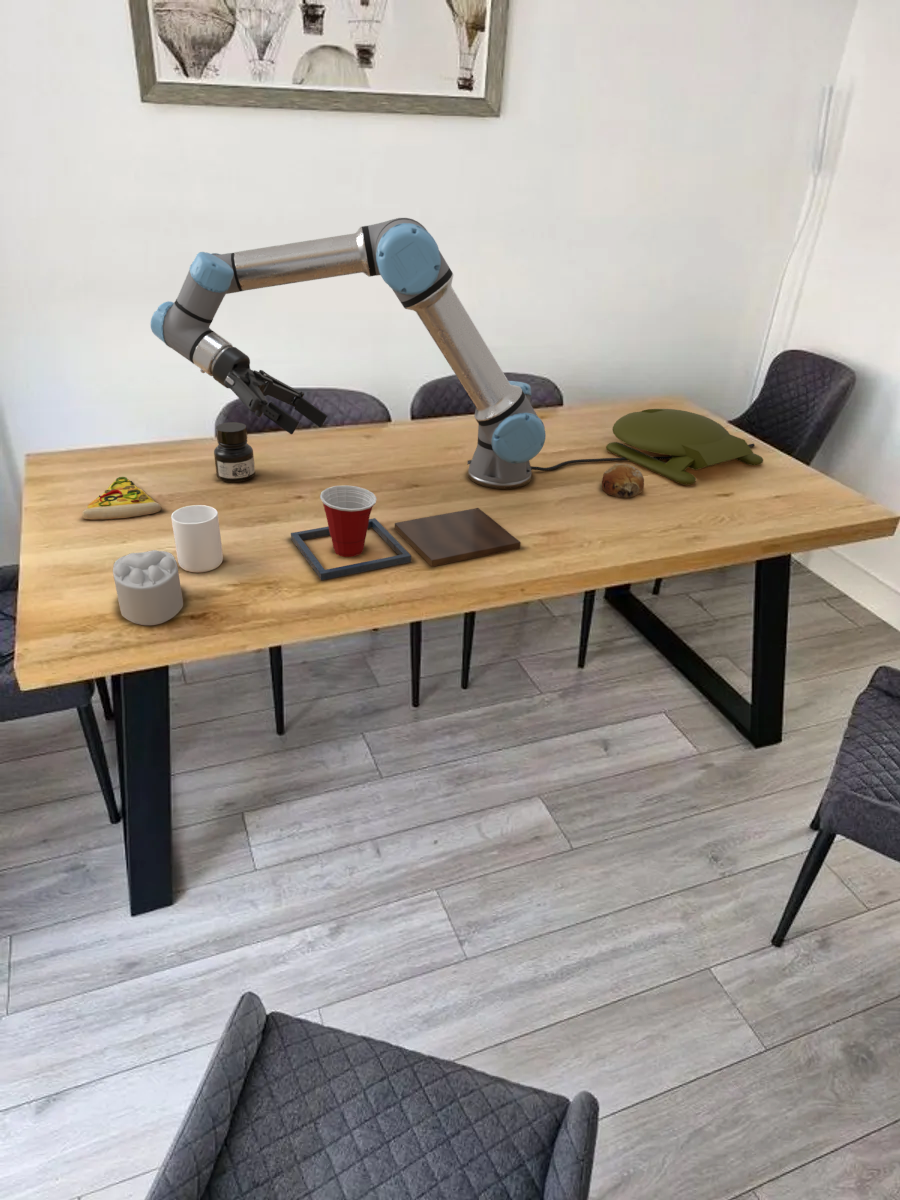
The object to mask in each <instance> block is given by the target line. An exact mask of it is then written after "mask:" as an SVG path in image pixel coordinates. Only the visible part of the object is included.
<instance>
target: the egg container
mask: <svg viewBox="0 0 900 1200" xmlns="http://www.w3.org/2000/svg"><path fill="white" fill-rule="evenodd" d="M178 566H179V565H178V561H177V560H176V557H175V556H174V555H173V554H172V553H171V552H169V551H165V550H158V549H153V550H148V551H143V552H131V553H128V554H125V555H123V556H121V557H119V558H117V559H116V560H115V562H114V563H113V568H112V575H113V580H114V581H113V582H114V585H115V591H116V595H117V600H118V605H119V610H120V615H121V616H122V617H123V618H124V619H126V620H127V621H129V622H130V623H133V624H136V625H142V626H157V625H160V624H163V623H166V622H168V621H169V620H171V619H173V618H174V617H175V616H177V614H179V612H180V611H181V610H182V609H183V607H184V599H183V591H182V587H181V580H180V579H181V578H180V573H179V567H178Z"/></svg>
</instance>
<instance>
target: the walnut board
mask: <svg viewBox="0 0 900 1200" xmlns="http://www.w3.org/2000/svg"><path fill="white" fill-rule="evenodd" d="M393 525H394V528H393V529H394V531H395V532H397V534H399V536H401V537H402V539H403V540H404V541H405V542H406V543H407V544H409V546H410V547H411V548H412V549H413V550H414V551H415V552H416V553H417V554H418V555H419V556H420V557H421V558H422V559H423V560H424V561H425V562H426V563H427V564H428V565H429V566H430V567H432V568H433V567H437V566H442V565H448V564H452V563H457V562H462V561H467V560H472V559H476V558H481V557H485V556H491V555H495V554H499V553H504V552H509V551H514V550H519V549H521V541H520V540H519V539H517V538H516V537H515V536H513V534H511V533H510V532H509V531H508V530H506V529H505V528H504V527H503V526H502V525H500V524H499V523H497V521H495V519H493V518H491V517H490V516H489V515H488V514H487V513H485V512H484V511H483V510H482V509H481V508H479V507H475V508H468V509H465V510H458V511H452V512H448V513H447V512H446V513H441V514H436V515H431V516H425V517H419V518H413V519H409V520H404V521H397V522H394V524H393Z"/></svg>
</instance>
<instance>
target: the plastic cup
mask: <svg viewBox="0 0 900 1200" xmlns="http://www.w3.org/2000/svg"><path fill="white" fill-rule="evenodd" d="M377 498H378V497H377V496H376V495H375V494H374V492H372V491H371V490H368V489H367V488H364V487H362V486H361V487H360V486H358V485H357V486H356V485H349V484H348V485H347V484H344V485H333V486H330V487H326V488H325V489H324V490H322V491H321V493H320V495H319V499H320V500H321V502H322V505H323V506H322V507H323V510H324V513H325V518H326V523H327V527H329V532H330V535H329V537H330V538H331V544H332V548H333V550H334V553H335V554H336V555H338V556H339V557H345V558H352V557H353V558H354V557H357V556H360V555H361V554H362V553H363V552H364V549H365V548H364V547H365V543H366V538H367V533H368V529H369V528H368V523H369V519H370V517H371V514H372V510H373V508H374V506H375V505H376V503H377Z"/></svg>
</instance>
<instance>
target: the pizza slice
mask: <svg viewBox="0 0 900 1200" xmlns="http://www.w3.org/2000/svg"><path fill="white" fill-rule="evenodd" d="M86 507H87V508H85V509H83V510H82V513H81V515H82V518H83V519H84V520H114V519H116V520H117V519H128V518H135V517H140V516H147V515H153V514H156V513H159V512H161V510H162V507H161V504H160V503H159V502H156V501H155V500H154V499H153V498H152V497H151V496H150V495H148V494H147V493H146V492H145V491H144V490H143V489H141V488H139V487H138V486H136V485H135V483H134V481H133V480H129V479H128V478H127V477H126V476H119V477H117V478H116V479H115V480H114V481H113V482H112V483H111V484H110V485H109V486H108V487H107V488H106V489H105V490H104V492H103V493H102V494H101V495H98V497H96V498H95V499H93V500H92V501H91V502H90V503H88V504H87V506H86Z"/></svg>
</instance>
